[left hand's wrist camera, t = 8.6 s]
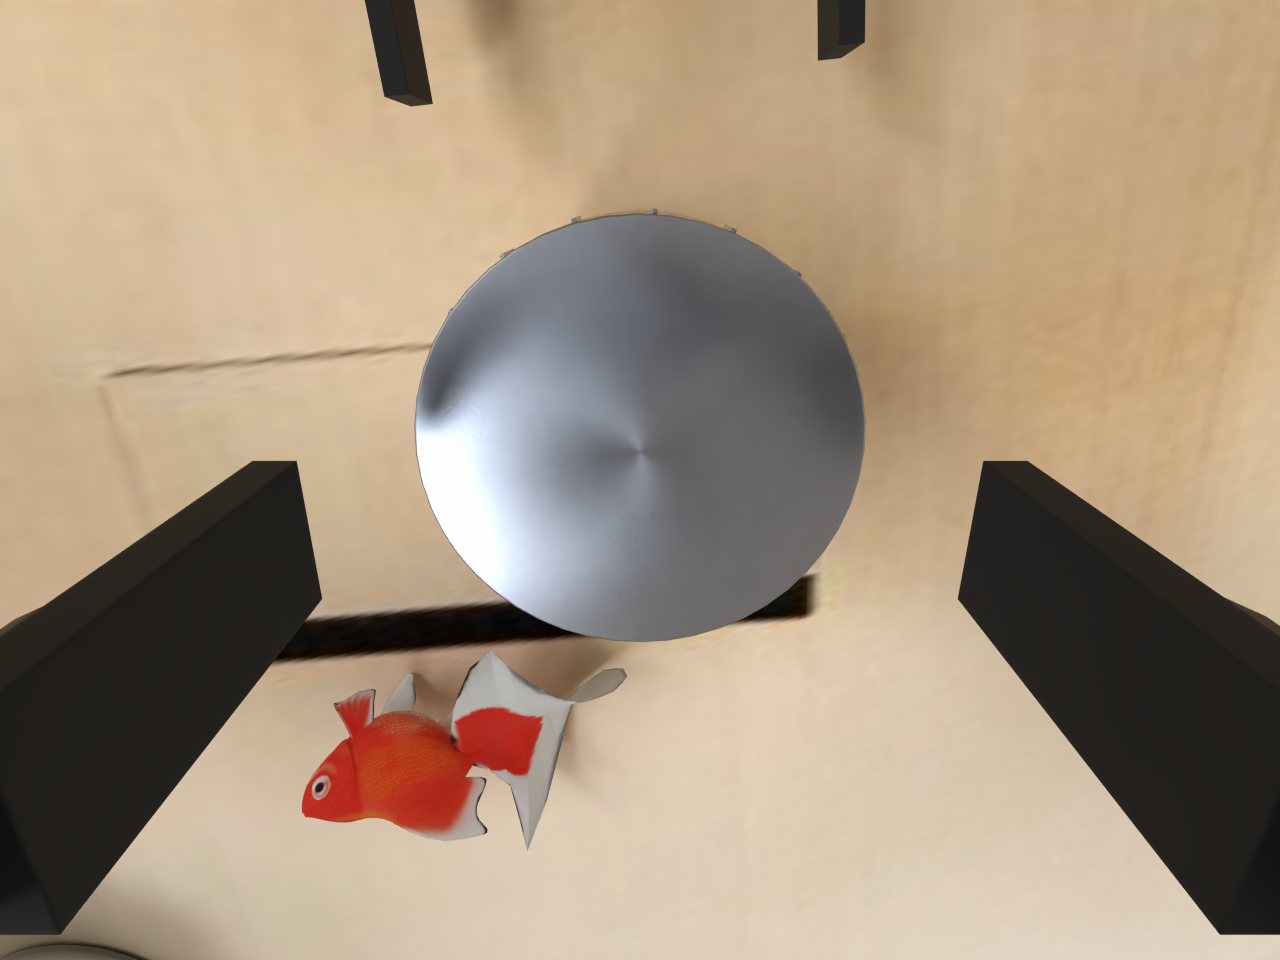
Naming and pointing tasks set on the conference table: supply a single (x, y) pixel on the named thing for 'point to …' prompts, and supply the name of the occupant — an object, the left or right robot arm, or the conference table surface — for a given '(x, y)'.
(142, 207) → the conference table surface
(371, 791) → the fish
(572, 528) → the lid
